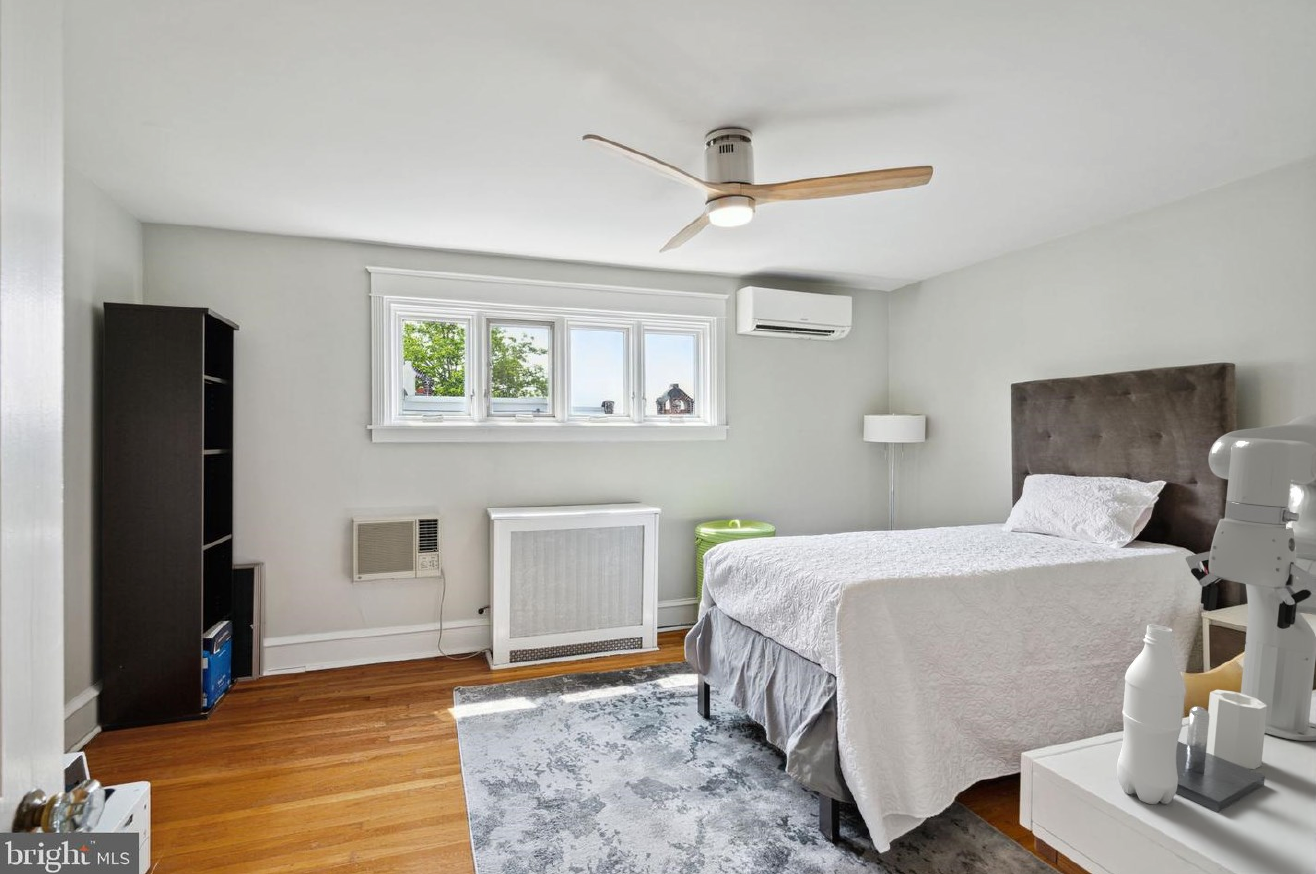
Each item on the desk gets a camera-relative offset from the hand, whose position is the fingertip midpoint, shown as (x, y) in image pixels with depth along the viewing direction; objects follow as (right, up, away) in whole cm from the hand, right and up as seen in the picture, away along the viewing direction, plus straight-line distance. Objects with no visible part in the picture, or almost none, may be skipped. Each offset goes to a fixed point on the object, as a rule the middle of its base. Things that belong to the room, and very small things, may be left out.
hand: (1245, 618), depth 109 cm
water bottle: (-25, -23, -11) cm, 36 cm away
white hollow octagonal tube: (-1, -24, +1) cm, 24 cm away
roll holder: (-13, -23, -6) cm, 27 cm away
